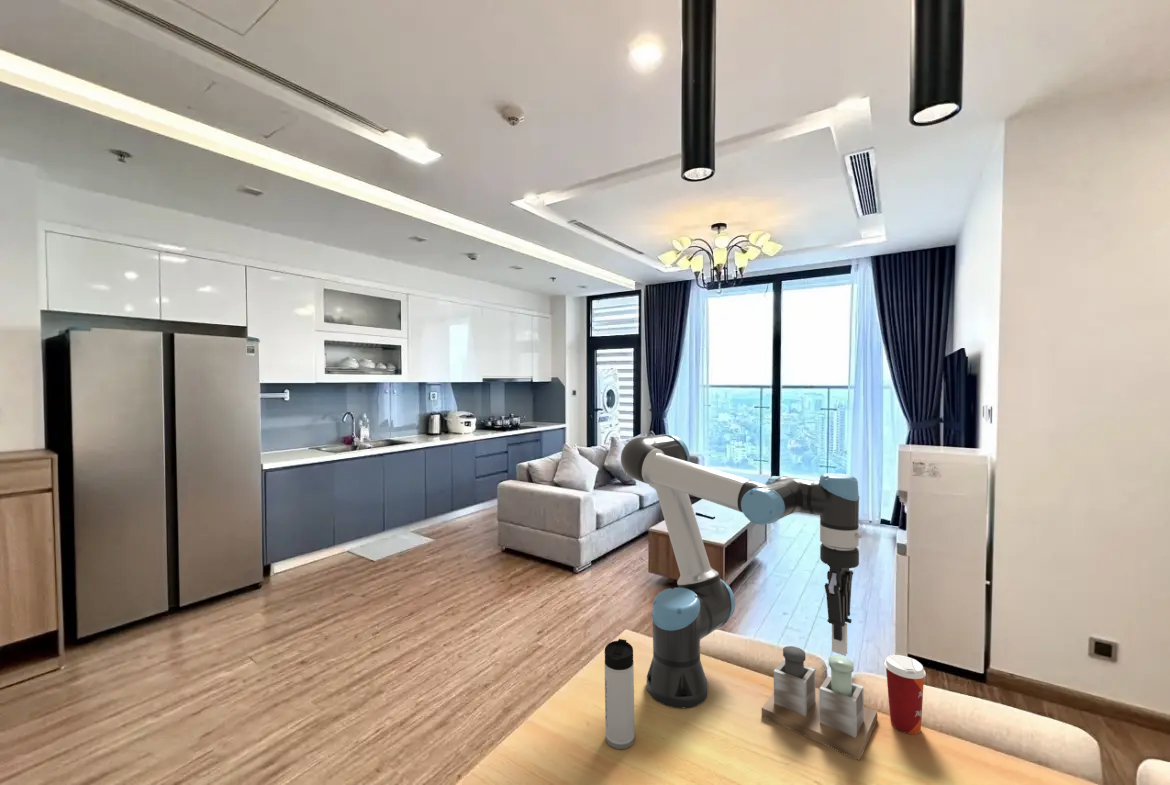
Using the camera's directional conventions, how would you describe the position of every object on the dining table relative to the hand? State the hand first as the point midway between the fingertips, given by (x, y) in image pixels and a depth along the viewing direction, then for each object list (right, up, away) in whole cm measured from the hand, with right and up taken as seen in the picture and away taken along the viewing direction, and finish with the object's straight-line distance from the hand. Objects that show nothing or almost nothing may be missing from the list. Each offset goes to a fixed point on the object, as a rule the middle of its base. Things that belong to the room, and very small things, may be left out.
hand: (839, 652), depth 105 cm
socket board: (-3, -17, +4) cm, 18 cm away
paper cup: (+15, -17, +1) cm, 23 cm away
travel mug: (-48, -18, -2) cm, 52 cm away
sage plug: (0, -13, 0) cm, 13 cm away
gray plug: (-7, -15, +7) cm, 17 cm away
